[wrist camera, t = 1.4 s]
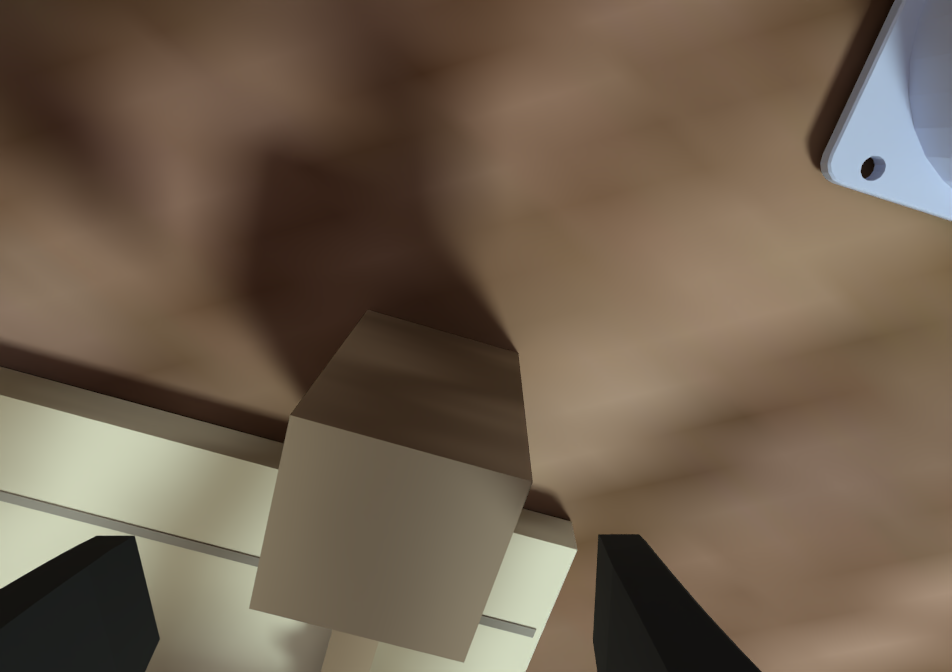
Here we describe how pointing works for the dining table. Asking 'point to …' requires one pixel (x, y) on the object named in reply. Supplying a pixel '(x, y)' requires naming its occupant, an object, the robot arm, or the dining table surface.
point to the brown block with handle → (397, 493)
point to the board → (213, 532)
